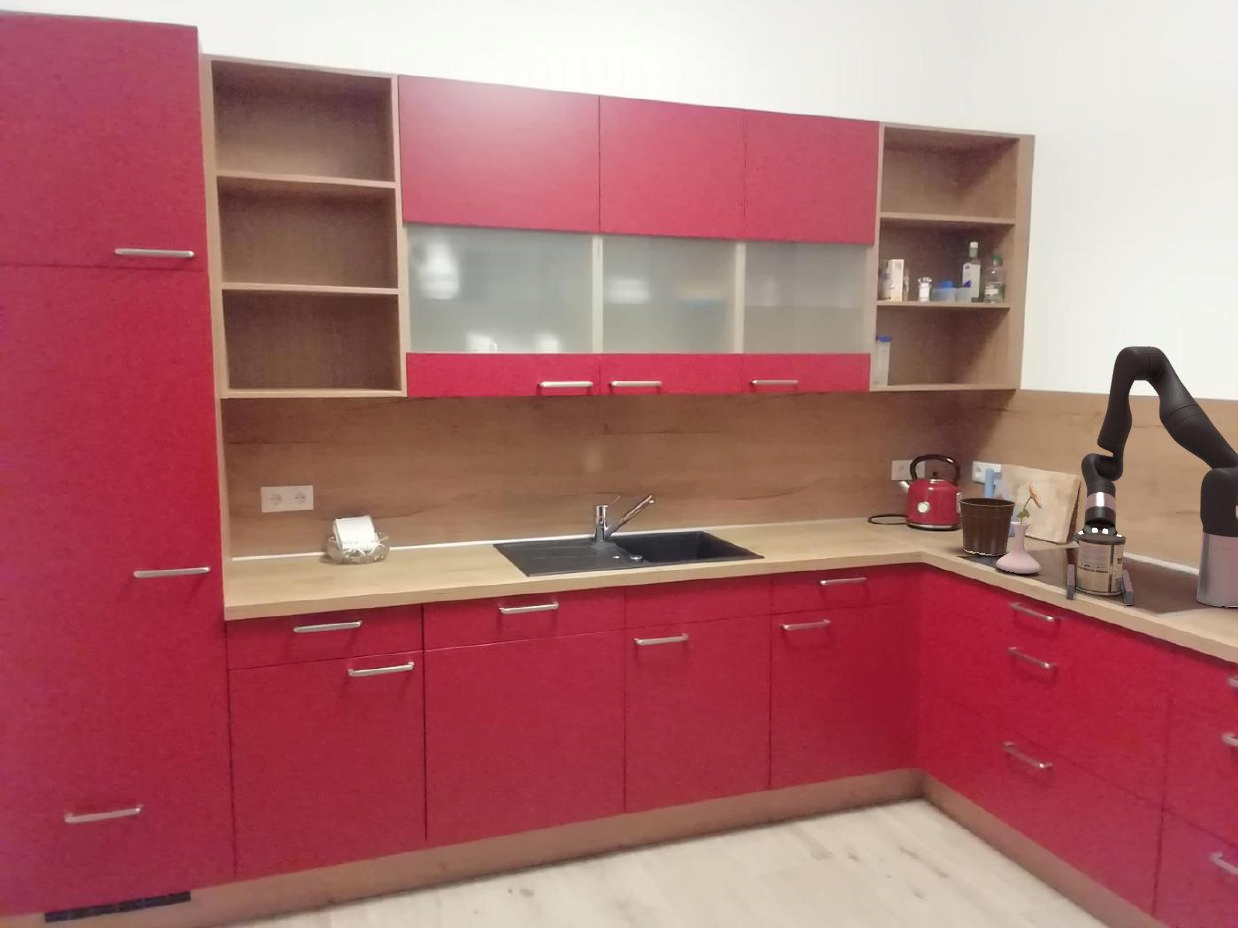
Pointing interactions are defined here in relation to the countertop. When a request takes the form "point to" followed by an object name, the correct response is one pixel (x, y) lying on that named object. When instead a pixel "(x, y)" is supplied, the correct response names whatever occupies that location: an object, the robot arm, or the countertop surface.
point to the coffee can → (1100, 564)
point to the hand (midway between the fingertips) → (1098, 565)
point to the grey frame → (1125, 585)
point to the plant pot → (986, 524)
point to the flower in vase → (1021, 544)
